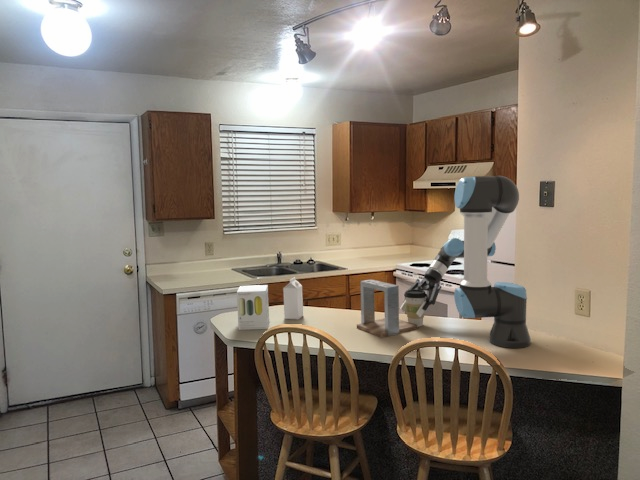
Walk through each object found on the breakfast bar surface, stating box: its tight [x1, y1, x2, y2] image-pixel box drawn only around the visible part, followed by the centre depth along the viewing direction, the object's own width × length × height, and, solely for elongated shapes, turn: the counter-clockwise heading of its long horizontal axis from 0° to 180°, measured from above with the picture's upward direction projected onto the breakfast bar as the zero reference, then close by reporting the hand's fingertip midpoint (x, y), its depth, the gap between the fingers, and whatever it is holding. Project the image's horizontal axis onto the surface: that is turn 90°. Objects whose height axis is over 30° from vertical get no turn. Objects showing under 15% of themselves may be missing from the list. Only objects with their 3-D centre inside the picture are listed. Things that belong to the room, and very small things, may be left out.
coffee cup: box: [403, 289, 427, 328], centre depth 225 cm, size 10×10×15 cm
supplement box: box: [236, 284, 270, 331], centre depth 231 cm, size 13×13×18 cm
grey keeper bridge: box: [360, 278, 400, 337], centre depth 218 cm, size 18×6×20 cm, turn 33°
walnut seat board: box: [356, 317, 418, 338], centre depth 222 cm, size 17×20×2 cm
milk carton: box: [282, 276, 304, 320], centre depth 242 cm, size 7×7×19 cm
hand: (409, 312), depth 223 cm, fingers closed on coffee cup, 10 cm apart
